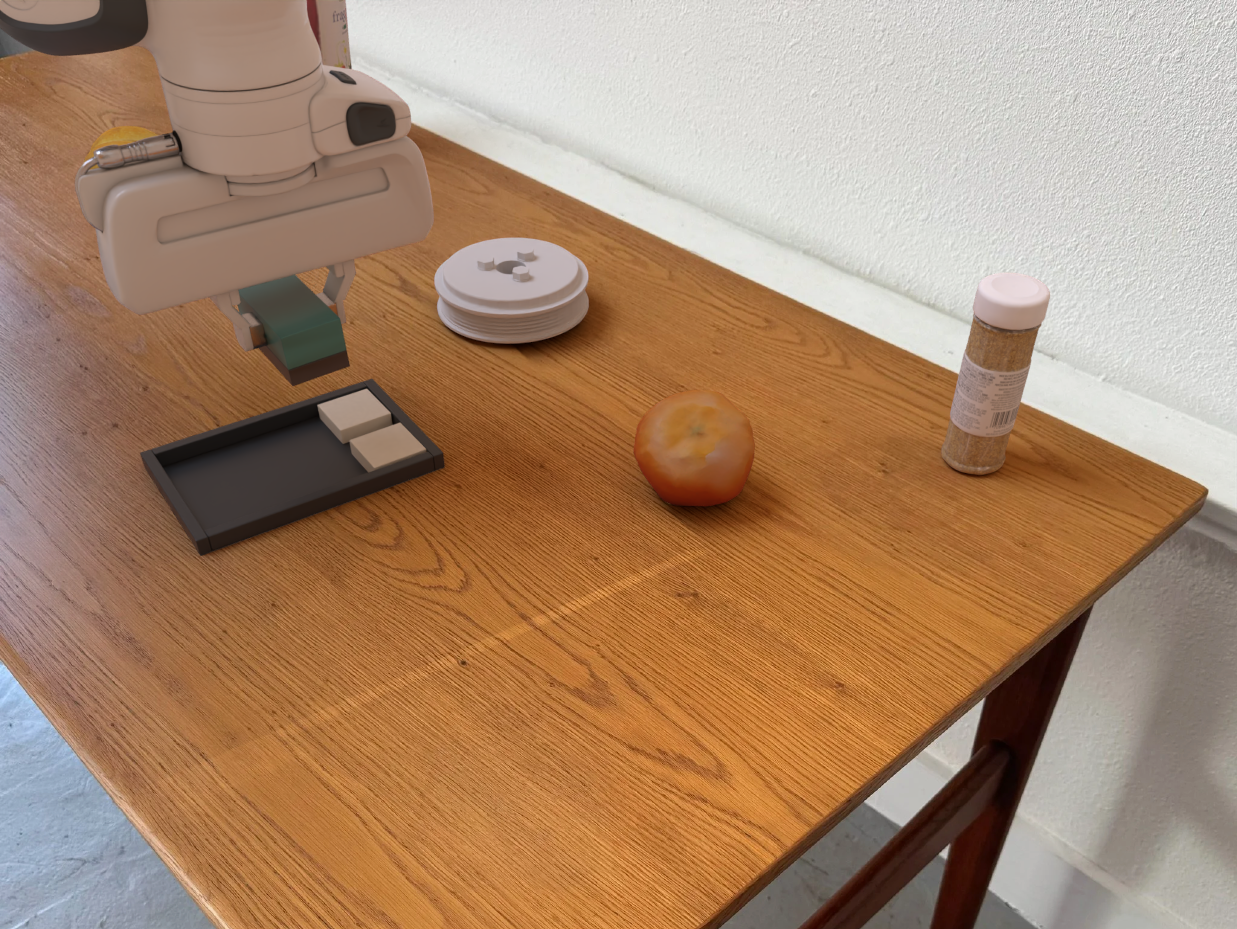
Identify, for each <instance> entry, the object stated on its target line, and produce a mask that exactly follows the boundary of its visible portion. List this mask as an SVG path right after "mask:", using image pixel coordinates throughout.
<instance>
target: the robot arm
mask: <svg viewBox="0 0 1237 929" xmlns="http://www.w3.org/2000/svg"><path fill="white" fill-rule="evenodd" d="M0 30H2V32H4V33H5V34H7V36H9V37H11V38H12V39H13V40H14V41H17V42H18V43H20V44H21V45H24V46H25V47H27V48H29V49H31V50H32V51H33V50H34V51H36V52H38V53H42V54H45V55H47V56H48V55H49V56H55V57H73V56H87V55H93V54H94V55H95V54H102V53H103V54H104V53H108V52H115V51H119V50H123V49H127V48H130V47H139V48H143V49H145V50H147V51H148V52H149V53H150V54H151V55H152V57H153V59H154V62H155V64H156V67H157V71H158V76H159V80H160V84H161V88H162V92H163V98H164V100H165V104H166V109H167V114H168V118H169V122H170V126H171V129H172V132H168V133H162V134H157V135H158V136H153V137H148V138H144V139H141V140H138V141H136V142H132V143H128V144H127V145H126V144H124V145H119V146H118V145H117V144H116V145H108V146H104V147H101V148H99V149H97V150H95V151H94V157H92V158H90V159H88V160H87V161H85V162H84V161H83V162H84V163H82V164H81V166H79V168H78V170H77V171H76V174H75V177H74V191H75V194H76V197H77V200H78V203H79V206H80V210H81V213H82V215H83V217H84V219H85V220H86V222H87V223H88V224H89V225H90V226H91V227H93V228H94V229H95V234H96V241H97V248H98V253H99V258H100V263H101V268H102V271H103V276H104V279H105V282H106V285H107V286H108V288H109V291H110V292H111V294H112V295H113V297H114V298H115V299H116V301H117V302H118V303H119V304H120V305H121V306H123V307H125V309H127V310H129V311H130V312H132V313H135V315H139V316H143V315H148V314H153V313H156V312H159V311H163V310H167V309H170V308H174V307H179V306H182V305H185V304H190V303H193V302H197V301H201V300H205V299H208V298H209V300H211V302H212V303H213V304H214V305H215V307H216V308H217V309H218V310H219V311H220V312H221V313H222V314H223V315H224V316H225V317H226V318H227V319H228V320H229V321H230V322H231V323H232V326H233V330H234V334H235V338H236V340H237V343H238V345H239V347H241V349H243V351H244V352H245V353H246V352H249V351H253V350H257V349H259V348H260V347H264V346H267V345H268V342H267V338H266V337H265V336H264V335H265V331H264V327H263V323H262V322H261V321H260V320H259V319H258V318H257V317H256V316H255V315H254V313H253V312H249V313H245V314H240V313H239V309H238V308H236V307H235V306H237V305H238V304H240V303H241V301H240V296H239V291H238V290H239V289H243V288H247V287H251V286H254V285H258V284H262V283H266V282H269V281H273V280H277V279H281V278H284V277H288V276H292V275H296V276H297V275H299V274H303V273H307V272H310V271H311V272H312V271H314V270H318V269H322V268H326V269H327V270H328V274H327V276H326V279H325V283H324V286H323V289H322V292H319V293H315V294H316V295H317V296H318V297H319V298H320V299H321V300H322V301H323V302H324V303H325V304H326V305H327V306H328V307H329V308H330V309H331V310H332V311H333V312H334V313H335V314H336V315H337V316H338V317H339V318H340V320H341V325H343V324H346V323H347V318H346V311H345V304H344V301H345V300H346V298H347V296H348V294H349V291H350V289H351V286H352V284H353V281H354V279H355V277H356V274H357V271H356V264H355V260H357V259H361V258H364V257H367V256H371V255H375V254H378V253H383V252H385V251H390V250H394V249H397V248H401V247H405V246H409V245H413V244H417V243H421V242H423V241H425V240H426V238H427V237H428V235H429V233H430V232H431V229H432V228H433V226H434V222H435V213H434V203H433V197H432V191H431V184H430V179H429V176H428V171H427V167H426V163H425V159H424V156H423V153H422V151H421V149H420V148H419V146H418V145H417V143H415V141H413V139H411V138H410V137H409V136H408V134H410V131H411V130H412V115H411V109H410V106H409V105H408V104H407V102H406V101H405V100H404V99H403V98H402V97H401V96H400V95H398V94H397V93H396V92H395V91H394V90H392V89H391V88H390V87H388V86H387V85H386V84H384V83H382V82H381V81H379V80H378V79H376V78H374V77H372V76H371V75H369V74H367V73H364V72H363V71H360V70H357V69H353V68H352V69H346V68H340V67H333V66H326V65H323V64H322V58H321V52H320V48H319V45H318V43H317V40H316V38H315V36H314V34H313V31H312V29H311V26H310V22H309V18H308V13H307V0H0ZM96 164H97V165H98V167H99V168H96V169H91V170H89V169H90V168H92V167H93V166H95V165H96ZM237 309H238V310H237Z"/></svg>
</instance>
